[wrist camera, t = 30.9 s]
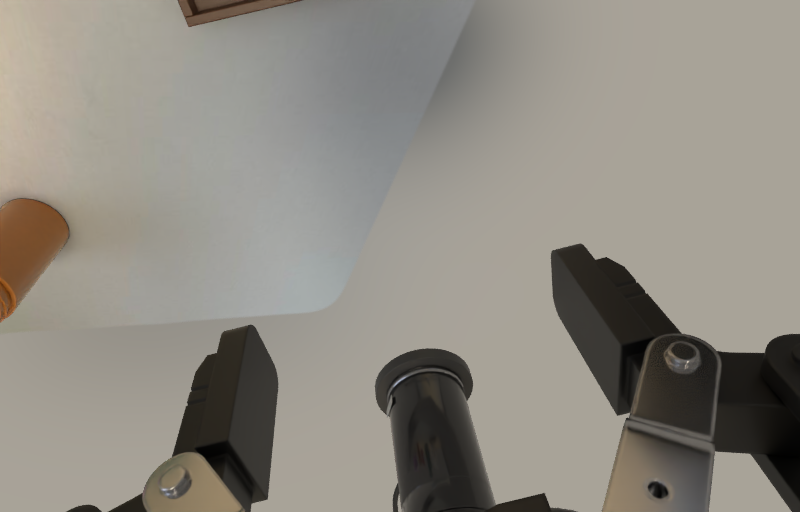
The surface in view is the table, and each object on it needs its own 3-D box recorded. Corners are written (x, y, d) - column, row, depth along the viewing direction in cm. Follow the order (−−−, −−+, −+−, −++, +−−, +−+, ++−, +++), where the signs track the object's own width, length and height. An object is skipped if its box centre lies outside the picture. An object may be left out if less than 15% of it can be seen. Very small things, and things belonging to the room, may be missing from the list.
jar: (82, 230, 43) (23, 310, 34) (43, 262, 44) (-24, 348, 36) (23, 186, 40) (-58, 262, 32) (-17, 222, 41) (-105, 304, 33)
